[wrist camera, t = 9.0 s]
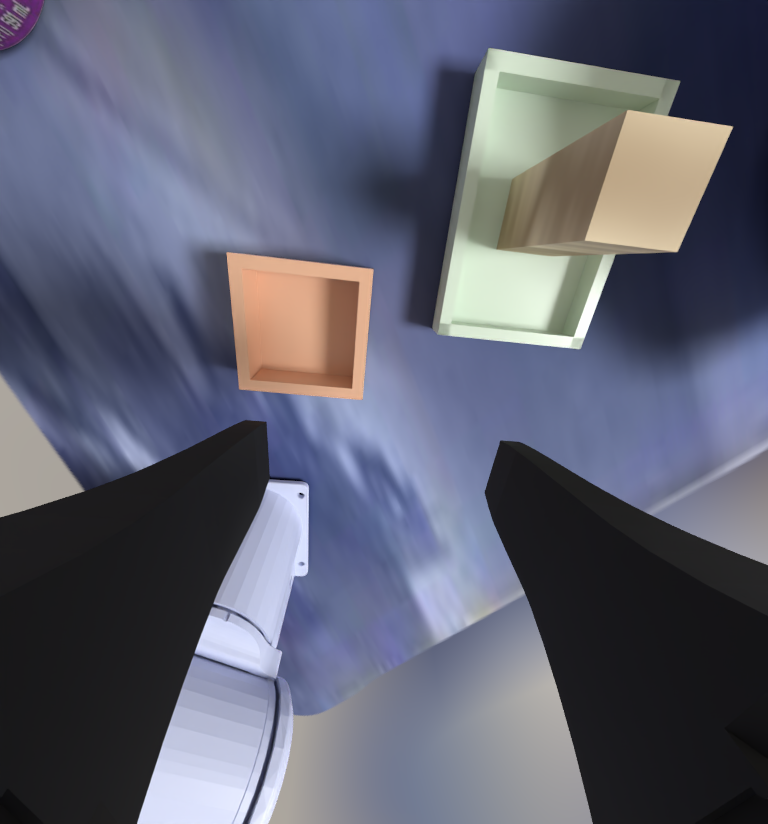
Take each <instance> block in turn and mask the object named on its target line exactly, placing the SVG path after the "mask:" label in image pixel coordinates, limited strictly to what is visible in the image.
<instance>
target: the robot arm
mask: <svg viewBox="0 0 768 824" xmlns="http://www.w3.org/2000/svg"><path fill="white" fill-rule="evenodd" d="M269 478H270V475H269V458H268V441H267V424H266V422H261V421H249V420H245V421H242V422H240V423H237V424H235V425H233V426H231V427H229V428H227V429H225V430H223V431H221V432H219V433H217V434H215V435H213V436H211V437H209V438H207V439H206V440H204V441H202V442H200V443H198V444H196V445H194V446H192V447H190V448H188V449H186V450H184V451H181V452H179V453H177V454H175V455H173V456H171V457H168V458H166V459H164V460H162V461H160V462H158V463H155V464H153V465H151V466H149V467H147V468H144V469H142V470H140V471H137V472H135V473H132V474H130V475H127V476H125V477H122V478H120V479H117V480H114V481H112V482H109V483H106V484H104V485H101V486H98V487H96V488H93V489H90V490H87V491H84V492H81V493H78V494H75V495H72V496H69V497H66V498H62V499H59V500H57V501H53V502H50V503H47V504H44V505H41V506H38V507H35V508H32V509H28V510H25V511H22V512H19V513H15V514H11V515H8V516H4V517H0V824H268V823H269V820H270V818H271V815H272V813H273V810H274V807H275V805H276V802H277V798H278V796H279V792H280V789H281V786H282V783H283V779H284V775H285V771H286V767H287V763H288V758H289V753H290V747H291V741H292V732H293V707H292V702H291V694H290V688H289V685H288V683H287V681H286V680H285V679H284V678H282V677H279V676H277V672H278V668H279V663H280V659H281V655H282V652H281V651H280V650H278V649H276V647H277V643H278V639H279V635H280V631H281V627H282V623H283V619H284V615H285V611H286V607H287V603H288V599H289V595H290V591H291V587H292V583H293V579H294V576H305V575H306V574H307V572H308V531H309V486H308V484H307V483H305V482H302V481H287V480H272V479H269ZM299 493H303V494H304V495H300V494H299ZM485 495H486V499H487V503H488V507H489V510H490V513H491V516H492V520H493V522H494V525H495V527H496V529H497V532H498V534H499V536H500V538H501V541H502V543H503V545H504V547H505V550H506V552H507V554H508V556H509V558H510V561H511V563H512V565H513V567H514V569H515V572H516V574H517V576H518V578H519V580H520V583H521V585H522V587H523V589H524V591H525V594H526V596H527V599H528V601H529V604H530V606H531V609H532V611H533V615H534V618H535V621H536V624H537V627H538V629H539V632H540V635H541V638H542V641H543V644H544V647H545V650H546V654H547V657H548V660H549V663H550V666H551V670H552V673H553V676H554V679H555V682H556V685H557V689H558V692H559V696H560V699H561V702H562V706H563V710H564V713H565V717H566V720H567V724H568V727H569V731H570V734H571V738H572V742H573V745H574V749H575V753H576V757H577V761H578V765H579V769H580V773H581V777H582V781H583V785H584V789H585V793H586V796H587V801H588V805H589V809H590V813H591V817H592V822H593V824H768V565H766V564H763V563H760V562H758V561H755V560H753V559H750V558H748V557H745V556H742V555H740V554H737V553H735V552H733V551H730V550H727V549H725V548H723V547H720V546H718V545H716V544H713V543H711V542H709V541H706V540H704V539H701V538H699V537H697V536H694V535H692V534H690V533H688V532H685V531H683V530H681V529H679V528H677V527H674V526H672V525H670V524H668V523H666V522H664V521H662V520H659V519H658V518H656V517H654V516H651V515H649V514H647V513H645V512H643V511H641V510H639V509H637V508H635V507H633V506H631V505H629V504H628V503H626V502H624V501H622V500H620V499H618V498H617V497H615V496H613V495H611V494H609V493H607V492H606V491H604V490H602V489H600V488H598V487H597V486H595V485H593V484H592V483H590V482H588V481H586V480H585V479H583V478H581V477H580V476H578V475H576V474H575V473H573V472H571V471H570V470H568V469H566V468H565V467H563V466H561V465H560V464H558V463H556V462H555V461H553V460H551V459H550V458H548V457H547V456H545V455H543V454H541V453H540V452H538V451H536V450H534V449H533V448H531V447H529V446H527V445H525V444H523V443H520V442H513V441H500V444H499V447H498V450H497V454H496V457H495V460H494V463H493V467H492V470H491V473H490V477H489V480H488V483H487V486H486V490H485Z"/></svg>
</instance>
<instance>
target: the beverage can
mask: <svg viewBox="0 0 768 824" xmlns="http://www.w3.org/2000/svg"><path fill="white" fill-rule="evenodd" d="M43 5H44V0H0V50H4V49H7V48H10V47H12V46H14V45H16V44H18V43H19V42H21V41H22V40H23V39H24V38H25V37H26V36H27V35H28V34H29V33H30V32H31V31H32V29H33V28H34V26H35V25H36V23H37V21H38V19H39V16H40V14H41V11H42V8H43Z"/></svg>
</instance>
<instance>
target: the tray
mask: <svg viewBox="0 0 768 824" xmlns="http://www.w3.org/2000/svg"><path fill="white" fill-rule="evenodd" d="M679 84H680V81H677V80H672V79H666V78H660V77H654V76H649V75H643V74H637V73H631V72H625V71H620V70H614V69H608V68H602V67H597V66H591V65H585V64H579V63H574V62H568V61H562V60H556V59H551V58H545V57H539V56H533V55H527V54H522V53H516V52H510V51H504V50H499V49H493V48H488V50H487V52H486V54H485V56H484V57H483V59H482V61H481V63H480V65H479V67H478V69H477V70H476V72H475V76H474V82H473V88H472V94H471V100H470V106H469V112H468V118H467V124H466V130H465V136H464V142H463V147H462V153H461V159H460V165H459V171H458V177H457V183H456V189H455V195H454V201H453V207H452V213H451V219H450V225H449V231H448V237H447V242H446V248H445V254H444V260H443V266H442V272H441V278H440V284H439V290H438V296H437V302H436V308H435V314H434V320H433V326H432V329H433V330H434V331H435V332H436V333H437V334H438V335H447V336H457V337H467V338H477V339H486V340H496V341H506V342H516V343H525V344H535V345H545V346H555V347H564V348H574V349H580V348H581V346H582V343H583V340H584V338H585V335H586V332H587V330H588V327H589V324H590V322H591V319H592V316H593V314H594V311H595V308H596V306H597V303H598V300H599V298H600V295H601V292H602V290H603V287H604V284H605V282H606V279H607V276H608V274H609V271H610V268H611V266H612V263H613V260H614V258H615V255H616V254H608V255H579V256H544V255H536V254H528V253H519V252H511V251H503V250H496V249H497V244H498V240H499V235H500V231H501V227H502V222H503V218H504V213H505V209H506V205H507V200H508V196H509V191H510V187H511V182H512V179H513V178H515V177H516V176H518V175H520V174H521V173H523V172H525V171H526V170H528V169H530V168H531V167H533V166H535V165H536V164H538V163H540V162H541V161H543V160H545V159H546V158H548V157H550V156H551V155H553V154H555V153H556V152H558V151H560V150H561V149H563V148H565V147H566V146H568V145H570V144H571V143H573V142H575V141H576V140H578V139H580V138H581V137H583V136H585V135H586V134H588V133H590V132H591V131H593V130H595V129H596V128H598V127H600V126H601V125H603V124H605V123H606V122H608V121H610V120H611V119H613V118H615V117H617V116H618V115H620V114H622V113H623V112H625V111H627V110H632V111H638V112H645V113H651V114H657V115H663V116H668V113H669V111H670V108H671V105H672V103H673V100H674V97H675V95H676V92H677V89H678V87H679Z"/></svg>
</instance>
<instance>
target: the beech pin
mask: <svg viewBox="0 0 768 824" xmlns="http://www.w3.org/2000/svg"><path fill="white" fill-rule="evenodd" d="M732 128H733V127H732V126H726V125H720V124H714V123H707V122H701V121H695V120H688V119H682V118H676V117H670V116H663V115H657V114H651V113H645V112H638V111H632V110H627V111H625V112H623V113H622V114H620V115H618V116H617V117H615V118H613V119H611V120H610V121H608V122H606V123H605V124H603V125H601V126H600V127H598V128H596V129H595V130H593V131H591V132H590V133H588V134H586V135H585V136H583V137H581V138H580V139H578V140H576V141H575V142H573V143H571V144H570V145H568V146H566V147H565V148H563V149H561V150H560V151H558V152H556V153H555V154H553V155H551V156H550V157H548V158H546V159H545V160H543V161H541V162H540V163H538V164H536V165H535V166H533V167H531V168H530V169H528V170H526V171H525V172H523V173H521V174H520V175H518V176H516V177H515V178H513V179H512V182H511V187H510V191H509V196H508V200H507V205H506V209H505V213H504V218H503V222H502V227H501V231H500V235H499V240H498V244H497V249H496V250H503V251H511V252H519V253H528V254H536V255H544V256H579V255H608V254H637V253H666V252H678V250H679V247H680V245H681V243H682V241H683V238H684V236H685V234H686V232H687V229H688V227H689V225H690V223H691V221H692V218H693V216H694V214H695V212H696V209H697V207H698V205H699V203H700V200H701V198H702V196H703V194H704V191H705V189H706V187H707V185H708V182H709V180H710V178H711V176H712V173H713V171H714V169H715V167H716V164H717V162H718V160H719V158H720V155H721V153H722V151H723V149H724V146H725V144H726V142H727V140H728V137H729V135H730V133H731V131H732Z"/></svg>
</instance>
